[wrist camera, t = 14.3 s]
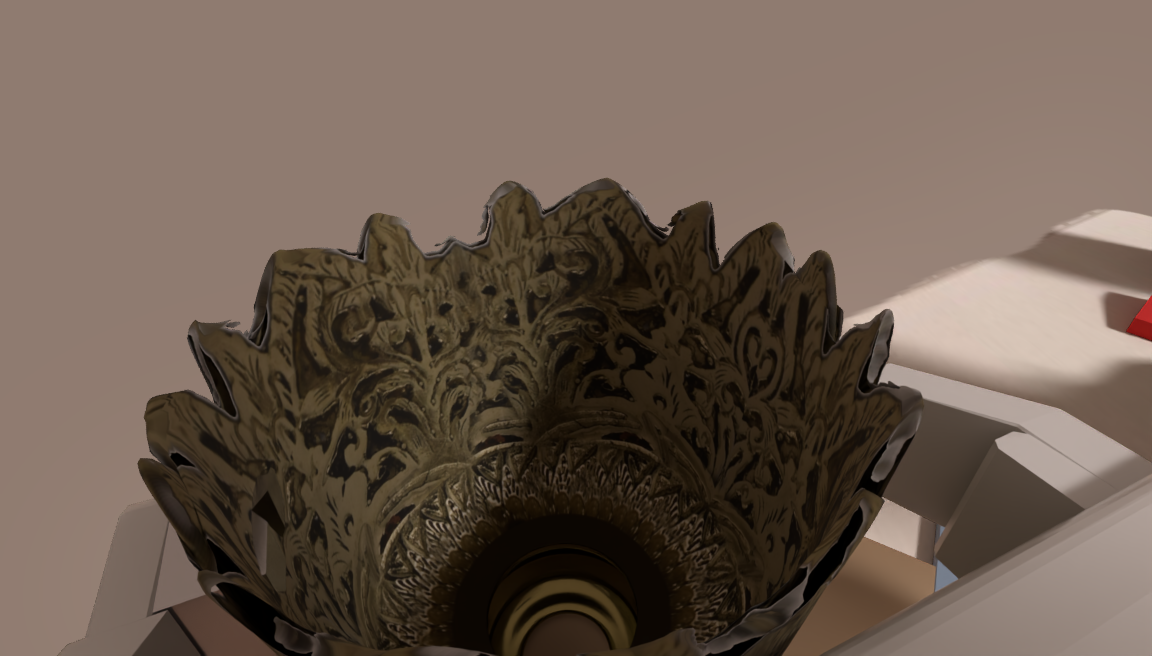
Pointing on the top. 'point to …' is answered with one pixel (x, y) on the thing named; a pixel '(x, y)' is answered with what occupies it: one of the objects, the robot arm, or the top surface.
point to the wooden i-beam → (845, 609)
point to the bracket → (1143, 322)
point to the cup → (536, 436)
